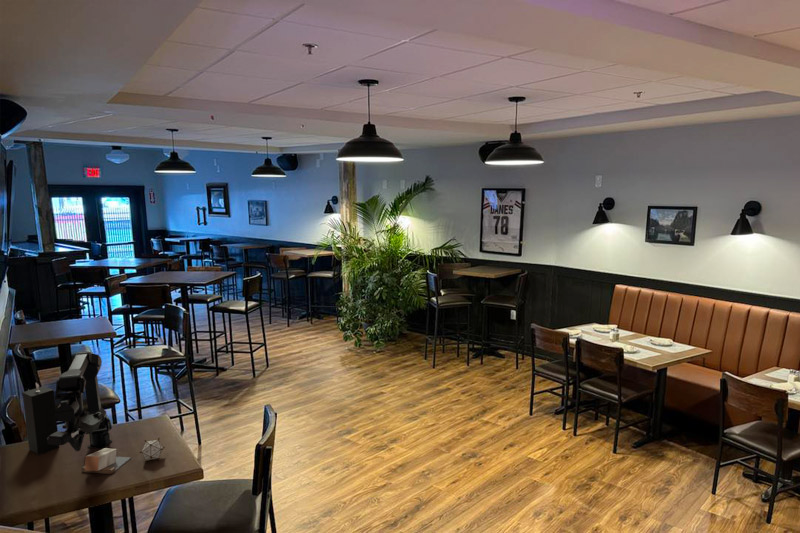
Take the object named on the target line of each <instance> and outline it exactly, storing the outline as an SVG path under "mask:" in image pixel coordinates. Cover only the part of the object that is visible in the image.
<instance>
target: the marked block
mask: <svg viewBox="0 0 800 533" xmlns="http://www.w3.org/2000/svg"><path fill="white" fill-rule="evenodd" d="M117 451H118V449H117V448H108V447H105V448H104V447H103V448H101V449H99V450H98V451H95V452H93V453H90V454H88V455H85V459H84V460H85V462H84V466H85V470H90V471H98V470H101V469H103V468H105V467H107V466H109V465H111V464H113V463H115V462H116V457H117V453H118V452H117Z"/></svg>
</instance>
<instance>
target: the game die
mask: <svg viewBox="0 0 800 533" xmlns="http://www.w3.org/2000/svg"><path fill="white" fill-rule="evenodd" d="M160 439H161V438H160V437H158V438H157V439H153V440H148V441H147V440H146V439H144V442H145V443H144V445H143V447H142V449H141V450H140V451H139V454H142V456H143V458H144V460H145V461H144V463H146V462H148V461H151V460H158V461H161V458H160V457H161V454H162V452H163V450H164V449H165V448H166V447H165V446H163V445H162V443H161V441H160Z"/></svg>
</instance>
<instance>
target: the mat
mask: <svg viewBox="0 0 800 533" xmlns="http://www.w3.org/2000/svg"><path fill="white" fill-rule="evenodd" d="M130 460H132V457H129V456H128V457H127V456H116V462H115V463H113V464H111V465H109V466H107V467H115V472H116V471H117V470H118V469H120V468H122V467H123V466H124V465H125V464H126V463H127V462H129V461H130Z"/></svg>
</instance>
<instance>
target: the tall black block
mask: <svg viewBox="0 0 800 533" xmlns="http://www.w3.org/2000/svg"><path fill="white" fill-rule="evenodd" d="M21 394H22V399H23V407H24V408H23V409H24V415H25V424H26V433H27V441H28V449H29V451H30V450H31V451H30V452H32V453H34V454H35V455H37V456H40V455H43V454H45V453H48V452H50V451H53V450H56V449H58V448H60V445H51V444H48V442H47V438H48V437H49V436H50V435H52V434H53V433H55V432H57V431H59V430H58V420H57V419H56V418H55V416H54V413H55V411H56V404H55V401H56V400H55V392H54V389H52V388H50V387H48V386H46V385H44V386H40V385H39V383H37V382H35V388H32V389H30V390H26V391H23V392H22V393H21Z"/></svg>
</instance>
